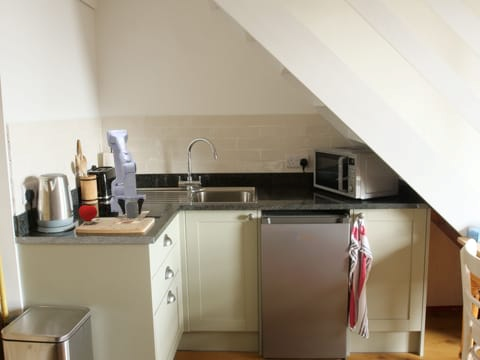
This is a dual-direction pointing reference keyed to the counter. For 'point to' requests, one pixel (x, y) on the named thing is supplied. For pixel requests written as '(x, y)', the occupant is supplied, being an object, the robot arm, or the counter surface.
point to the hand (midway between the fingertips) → (132, 214)
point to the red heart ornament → (87, 213)
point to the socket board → (137, 219)
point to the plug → (131, 210)
